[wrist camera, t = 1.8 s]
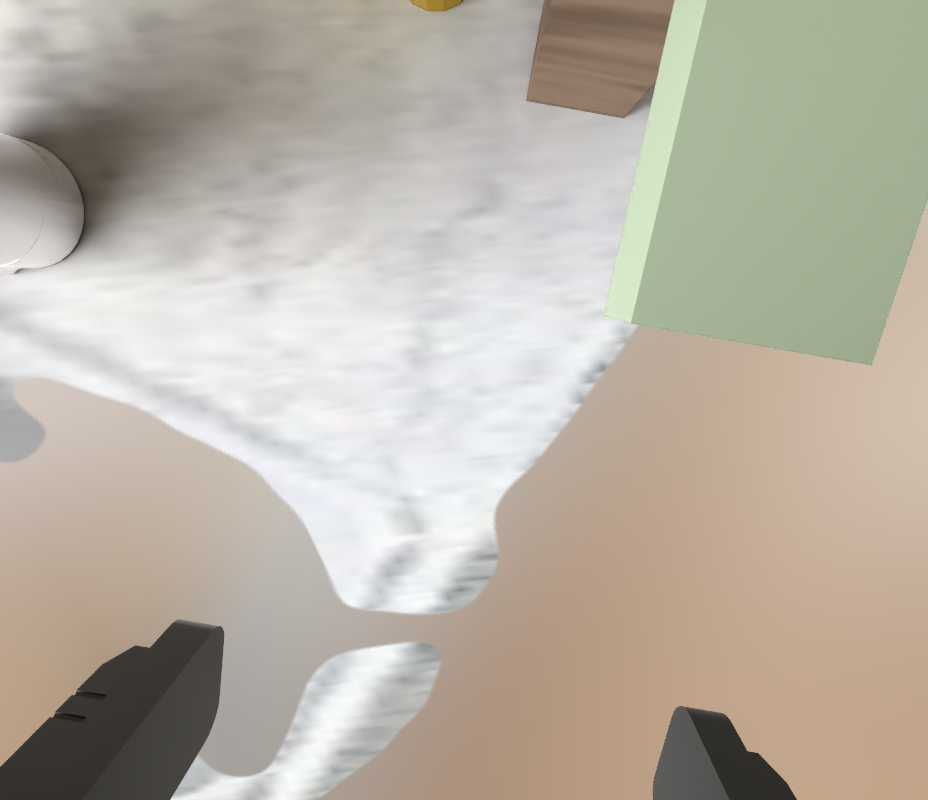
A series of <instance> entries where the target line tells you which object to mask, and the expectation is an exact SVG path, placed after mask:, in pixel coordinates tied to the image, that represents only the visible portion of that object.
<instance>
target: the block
mask: <svg viewBox="0 0 928 800" xmlns="http://www.w3.org/2000/svg"><path fill="white" fill-rule="evenodd" d="M927 199H928V0H674V5H673V9H672V14H671V18H670V23H669V27H668V31H667V36H666V40H665V45H664V49H663V54H662V58H661V63H660V67H659V72H658V76H657V81H656V85H655V89H654V94H653V98H652V103H651V107H650V112H649V116H648V121H647V125H646V130H645V134H644V138H643V143H642V147H641V152H640V156H639V161H638V165H637V170H636V174H635V179H634V183H633V188H632V192H631V196H630V201H629V205H628V210H627V214H626V219H625V223H624V228H623V232H622V237H621V241H620V245H619V250H618V254H617V259H616V263H615V268H614V272H613V277H612V281H611V286H610V290H609V295H608V299H607V303H606V308H605V312H604V316H607V317H611V318H614V319H618V320H621V321H624V322H628V323H632V324H637V325H643V326H649V327H655V328H660V329H666V330H672V331H678V332H683V333H689V334H695V335H701V336H706V337H712V338H718V339H723V340H729V341H735V342H741V343H746V344H753V345H758V346H764V347H769V348H775V349H781V350H787V351H792V352H798V353H804V354H809V355H815V356H821V357H826V358H832V359H838V360H844V361H849V362H855V363H861V364H867V365H872V363H873V360H874V357H875V354H876V351H877V348H878V345H879V342H880V339H881V336H882V333H883V330H884V327H885V324H886V321H887V318H888V315H889V312H890V309H891V306H892V303H893V300H894V297H895V294H896V291H897V288H898V285H899V282H900V279H901V276H902V273H903V271H904V267H905V264H906V262H907V259H908V256H909V253H910V250H911V247H912V244H913V241H914V238H915V235H916V232H917V229H918V226H919V223H920V220H921V217H922V214H923V211H924V208H925V205H926V202H927Z"/></svg>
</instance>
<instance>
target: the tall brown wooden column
mask: <svg viewBox="0 0 928 800" xmlns="http://www.w3.org/2000/svg"><path fill="white" fill-rule="evenodd" d="M673 5H674V0H544V4H543V9H542V15H541V20H540V26H539V32H538V37H537V43H536V48H535V54H534V60H533V65H532V71H531V77H530V82H529V88H528V93H527V99H526V101H531V102H536V103H542V104H548V105H553V106H559V107H564V108H570V109H576V110H581V111H587V112H593V113H598V114H604V115H610V116H615V117H621V118H624V117H625V116H626V115H627V113H628V112H629V111H630V110H631V109H632V108H633V107H634V106H635V104H636V103H637V102H638V101H639V100H640V99H641V98H642V96H643V95H644V94H645V93H646V92H647V91H648V90H649V89H650V87H651V86H652V85H653V84H654V83H655V82H656V81H657V76H658V72H659V67H660V63H661V58H662V54H663V49H664V45H665V40H666V36H667V31H668V27H669V23H670V18H671V14H672V9H673Z"/></svg>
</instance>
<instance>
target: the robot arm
mask: <svg viewBox="0 0 928 800" xmlns="http://www.w3.org/2000/svg"><path fill="white" fill-rule="evenodd" d="M83 223H84V205H83V201H82V196H81V192H80V190H79V188H78V185H77V183H76V181H75V179H74V177H73V176H72V174H71V173H70V171H69V170H68V168H67V167H66V166H65V165H64V164H63V163H62V162H61V161H60V159H59V158H58V157H56V156H55V155H54V154H52V153H51V152H50V151H48V150H47V149H45V148H43V147H41V146H39V145H37V144H34V143H32V142H29V141H26V140H22V139H19V138H16V137H12V136H9V135H6V134H3V133H0V275H12V274H14V273H15V272H16V271H17V270H19V269H21V268H43V267H48V266H51V265H53V264H55V263H57V262H60V261H61V260H63V259H64V258H65V257H66V256H67V255H69V254H70V253H71V251H72V250H73V249H74V247H75V246H76V244H77V243H78V240H79V238H80V236H81V233H82V229H83ZM223 645H224V631H223V628H222V627H221V626H215V625H209V624H203V623H197V622H191V621H185V620H177V621H175V622H174V623H172V624H171V625H170V626H169V628H168V629H167V630H166V631H165V632H164V633H163V634H162V635H161V636H160V637H159V639H158V640H157V641H156V642H155V643H154V644H153V645H152V646H151V647H150V648H147V647H141V646H134V647H132V648H130V649H129V650H127V651H125V652H123V653H122V654H120V655H118V656H116V657H115V658H113V659H111V660H109V661H108V662H106V663H104V664H102V665H101V666H100V667H99V668H98V669H97V670H96V671H95V672H94V674H92V676H90V677H89V678H88V680H86V681H85V683H83V684H82V685H81V686H80V688H78V689H77V692H76V694H75V695H72V696H71V697H70V698H69V699H68V700H67V701H66V702H65V703H64V704H63V705H62V706H61V707H60V708H59V709H58V710H57V711H56V712H55V715H54V717H53V718H51V717H50V718H49V719H48V720H47V721H46V722H45V723H44V724H43V725H42V726H41V727H40V728H39V729H38V730H37V731H36V732H35V733H34V734H33V735H32V736H31V737H30V738H29V739H28V740H27V741H26V742H25V743H24V744H23V745H22V746H21V747H20V748H19V749H18V750H17V751H16V752H15V753H14V754H13V755H12V756H11V757H10V758H9V759H8V760H7V761H6V762H5V763H4V764H3V765H2V766H1V767H0V800H170V799H171V797H172V796H173V794H174V792H175V791H176V789H177V787H178V786H179V784H180V783H181V781H182V779H183V778H184V776H185V774H186V773H187V771H188V769H189V768H190V766H191V764H192V763H193V761H194V759H195V758H196V756H197V754H198V753H199V751H200V750H201V748H202V746H203V745H204V743H205V741H206V739H207V737H208V735H209V733H210V730H211V728H212V725H213V723H214V720H215V717H216V713H217V709H218V704H219V696H220V683H221V671H222V657H223ZM653 800H797V799H796V797H795V796H794V794H793V792H792V791H791V789H790V787H789V786H788V784H787V783H786V782H785V781H784V780H783V779H782V777H781V776H779V774H778V773H777V772H776V771H775V770H774V769H773V768H772V767H771V766H770V765H769V764H768V763H767V762H766V761H765V760H764V759H763V758H762V757H761V756H760V755H759V754H758V753H754V752H748V751H747V750H746V748H745V746H744V745H743V743H742V741H741V739H740V737H739V735H738V734H737V732H736V730H735V728H734V726H733V725H732V723H731V721H730V720H729V718H728V717H727V716H726V715H725V714H722V713H717V712H712V711H706V710H700V709H694V708H688V707H682V706H679V707H677V708H676V710H675V711H674V713H673V715H672V719H671V722H670V725H669V729H668V732H667V736H666V739H665V743H664V746H663V749H662V753H661V756H660V759H659V763H658V766H657V770H656V773H655V777H654V783H653Z"/></svg>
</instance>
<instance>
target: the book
mask: <svg viewBox="0 0 928 800" xmlns="http://www.w3.org/2000/svg"><path fill="white" fill-rule="evenodd" d="M410 1H411V2H412V4H414V5H416V6H419V7H421V8H423V9H425V10H427V11H446V10H448V9H450V8H452V7H454V6H456V5H458V4H460V3H461V2H462V1H463V0H410Z"/></svg>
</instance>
